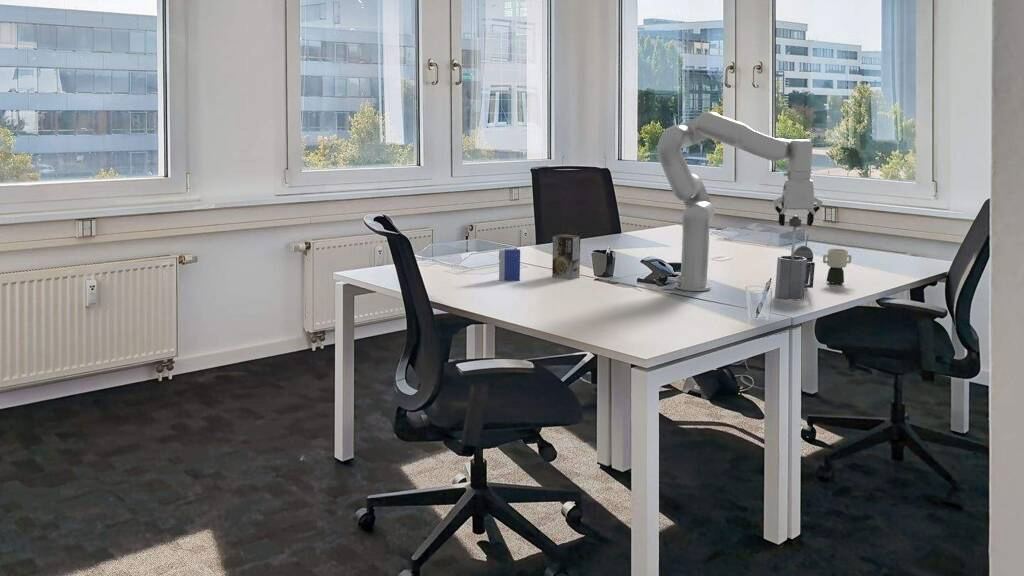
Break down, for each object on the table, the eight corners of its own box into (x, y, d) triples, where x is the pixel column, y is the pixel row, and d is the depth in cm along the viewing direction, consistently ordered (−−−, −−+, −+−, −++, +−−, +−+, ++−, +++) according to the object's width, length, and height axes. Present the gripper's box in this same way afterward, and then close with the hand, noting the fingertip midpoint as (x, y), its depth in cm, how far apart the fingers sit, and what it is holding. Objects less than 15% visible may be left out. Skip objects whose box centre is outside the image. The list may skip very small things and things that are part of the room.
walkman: (519, 279, 347) (519, 248, 345) (519, 280, 345) (520, 249, 342) (498, 279, 347) (498, 248, 344) (498, 280, 344) (499, 249, 342)
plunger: (785, 273, 318) (789, 216, 314) (779, 270, 324) (783, 214, 320) (803, 273, 318) (808, 217, 314) (797, 270, 324) (801, 214, 320)
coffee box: (580, 277, 354) (581, 235, 350) (572, 279, 348) (573, 237, 345) (559, 274, 358) (560, 233, 355) (551, 277, 353) (552, 235, 350)
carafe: (780, 299, 318) (783, 260, 315) (772, 294, 327) (774, 255, 325) (816, 300, 319) (819, 260, 316) (806, 294, 328) (809, 255, 325)
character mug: (845, 281, 352) (848, 248, 350) (852, 285, 345) (855, 251, 343) (817, 281, 352) (820, 248, 349) (824, 285, 345) (827, 251, 342)
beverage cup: (795, 284, 345) (799, 232, 341) (814, 287, 340) (818, 234, 336) (787, 287, 339) (791, 234, 335) (806, 290, 335) (810, 236, 331)
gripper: (777, 176, 310) (774, 226, 314) (827, 176, 311) (824, 226, 314) (770, 175, 318) (767, 224, 321) (819, 175, 318) (816, 224, 322)
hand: (795, 225), depth 318 cm, fingers open, 9 cm apart
